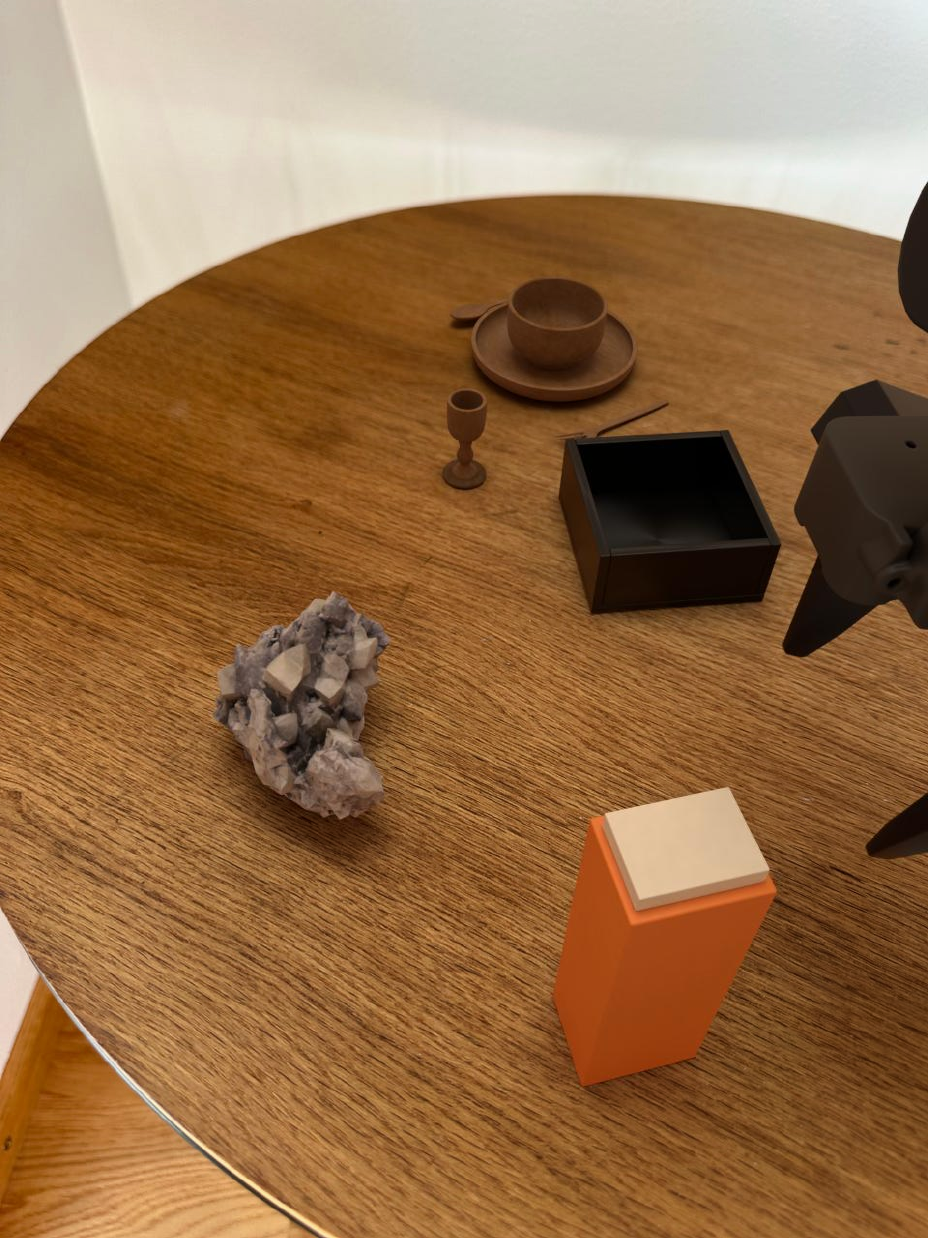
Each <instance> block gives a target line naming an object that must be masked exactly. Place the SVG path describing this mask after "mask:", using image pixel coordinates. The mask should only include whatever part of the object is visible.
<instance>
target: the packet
mask: <svg viewBox="0 0 928 1238" xmlns="http://www.w3.org/2000/svg"><path fill="white" fill-rule="evenodd" d="M588 821H589V822H588V825H587V831H586V836H585V841H584V845H583V849H582V853H581V859H580V863H579V869H578V873H577V878H576V882H575V887H574V892H573V897H572V900H571V905H570V906H571V907H570V910H569V916H568V921H567V925H566V930H565V935H564V939H563V944H562V948H561V953H560V957H559V962H558V967H557V972H556V977H555V983H554V986H553V990H552V999H553V1002H554V1005H555V1008H556V1011H557V1015H558V1018H559V1021H560V1024H561V1027H562V1030H563V1033H564V1036H565V1039H566V1043H567V1045H568V1050H569V1052H570V1055H571V1058H572V1061H573V1065H574V1067H575V1070H576V1074H577V1076H578V1080H579V1083H580V1085H581V1087H587V1086H592V1085H595V1084H599V1083H603V1082H606V1081H611V1080H613V1079H619V1078H621V1077H626V1076H629V1075H633V1074H638V1073H640V1072H645V1071H648V1070H652V1069H656V1068H660V1067H663V1066H667V1065H671V1064H674V1063H679V1062H682V1061H683V1062H684V1061H687V1060H690V1059H694V1058H696V1055H697V1054H698V1052H699V1050H700V1047H701V1046H702V1044H703V1042H704V1040H705V1038H706V1036H707V1034H708V1031H709V1030H710V1028H711V1026H712V1024H713V1022H714V1019H715V1017H716V1015H717V1013H718V1011H719V1010H720V1007H721V1006H722V1003H723V1001H724V999H725V997H726V995H727V993H728V991H729V989H730V987H731V985H732V983H733V981H734V979H735V977H736V975H737V973H738V971H739V969H740V968H741V965H742V964H743V961H744V959H745V957H746V956H747V954H748V951H749V949H750V947H751V945H752V943H753V941H754V939H755V937H756V934H757V933H758V931H759V930H760V927H761V926H762V923H763V921H764V919H765V917H766V915H767V913H768V911H769V909H770V907H771V905H772V903H773V901H774V899H775V896H776V895H777V892H778V890H777V888H776V885H775V883H774V882H773V880H772V877H771V876H770V873H769V872H770V870H771V869H770V866H769V864H768V863H767V862H766V859H765V856H764V855H763V852H762V850H761V849H760V847H759V845H758V843H757V841H756V839H755V837H754V835H753V833H752V831H751V829H750V826H749V825H748V823H747V821H746V819H745V817H744V814H743V813H742V811H741V809H740V807H739V805H738V803H737V801H736V799H735V797H734V795H733V793H732V791H731V789H730V787H728V786H726V787H722V788H717V789H712V790H708V791H707V790H706V791H703V792H699V793H694V794H688V795H685V796H679V797H675V798H671V799H666V800H665V799H664V800H661V801H656V802H651V803H647V804H642V805H637V806H632V807H628V808H624V809H623V808H622V809H618V810H614V811H609V812H605V813H604V814H603V815H601V816H600V815H599V816H596V817H591V818H590V819H589V820H588Z"/></svg>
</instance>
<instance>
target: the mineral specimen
mask: <svg viewBox="0 0 928 1238" xmlns="http://www.w3.org/2000/svg"><path fill="white" fill-rule="evenodd" d="M391 642H392V639H391V637H390V635H388V633H387V632H386V631H385V629H384V627H383V626H382V624H380V623H379V622H377V621H376V620H374V619H371V618H369V617H368V616H366V615H364V614H363V613H358V612H357V611H356V610H355V609H354V608H353V607H352V605H351V604H350V603H349V599H348V598H346V597H344V596H342V595H340V594H338V593H337V592H335V591H334V590H332V591H331V593H330V595H329V596H327V598H326V599H322V598H315V599H313V600H312V602H310V604H309V605H308V606H307V607H306V608H305V609H304V610H302V611H301V613H300V615H299V616H297V618H296V619H294V620H293V621H292V622H291V623H290V624H289V625H288V626H284V625H282V624H276V625H275V624H274V625H271V626H270V627H269V628H267V630H264V631H262V632H261V633H260V635H259V638H258V639H257V642H255V643H254V644H252V645H251V646H250V647H248V648H246V647H245V646H243V645H242V644H240V643H237V645H236V646H235V648H234V650H233V651H234V652H233V663H230V664H227V665H225V666H224V667H222V668H220V669H219V670H217V671H216V676H217V685H218V689H219V691H220V693H219V695H218V696H217V697H215V703H214V706H215V707H216V709H214V710H213V711H212V712H211V713H210V716H212V717H213V718H214V719H215V720H216V722H218V723H220V724H221V725H223V726H224V727H225V728H227V730H228V731H230V732H232V733H233V735H234V736H235V737H234V739H235V740H236V741H237V742H238V743H239V744H241V745H242V748H243V751H244V752H243V753H244V755H245V759H246V760H247V761H250V762H252V763H253V767H254V770H255V773H256V775H257V776H258V779H259V780H260V782H261V783H262V785H264V786H269V788H270V789H271V790H273V792H275V793H277V794H279V795H281V796H283V795H284V796H285V797H287V798H288V799H289V800H290V801H292V802H294V803H296V804H297V805H299V806H300V807H301V808H302V809H304V810H306V811H310V812H316V813H319V815H320V816H321V817H322V818H323V819H324V818H326V817H329V816H332V815H336V817H337V818H338V820H342V819H344V818H347V817H349V816H350V817H353V818H358V817H359V816H361V815H363V813H365V812H367V811H368V810H371V809H373V808H376V807H377V806H380V804H381V802H382V801H383V800H384V797H386V791H384V788H383V779H384V776H383V775H382V773H381V771H379V770H378V768H377V767H376V766H375V764H374V763H373V762H372V760H371V759H370V758H368V757H367V756H365V755H364V749H363V747H362V745H361V743H360V742H359V739H360V735H361V733H362V732H363V731H364V729H365V708H366V704H367V702H368V701H369V700H368V696H369V695H368V692H369V691H371V690H373V689H374V688H378V687H379V684H380V680H379V677H378V676H377V673H378V672H379V671H380V668H379V663H378V659H379V657H380V656H381V655H382V654H383V653H384V652H385V650H386V649H387V648H388V646H389V645H390V643H391Z"/></svg>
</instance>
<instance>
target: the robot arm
mask: <svg viewBox="0 0 928 1238" xmlns="http://www.w3.org/2000/svg"><path fill="white" fill-rule="evenodd" d="M903 233H904V234H903V237H902V240H901V243H900V249H899V255H898V256H899V257H898V263H897V285H898V294H899V297H900V300H901V304H902V306H903V309H904V312H905V314H906V315H907V317H908V319H909V320H910V321H911V322H912V324H913V325H915V326H916V327H917V328H919V329H920V330H922V331H923V332H925V333H927V334H928V181H927V182H926V183H925V185H924V186H923V188H922V190H921V192H920V194H919V196H918V198H917V199H916V202H915V205H914V206H913V209H912V211H911V213H910V215H909V218H908V221H907V223H906V226H905V230H904V232H903ZM809 431H810V433H811V435H812V436H813V438H814V441H815V442H816V444H817V448H816V450H815V453H814V456H813V458H812V461H811V463H810V464H809V465H810V466H809V468H808V470H807V473H806V475H805V478H804V480H803V482H802V485H801V487H800V491H799V493H798V495H797V498H796V501H795V503H794V507H793V511H794V512H793V513H794V517H795V518H796V521H797V523H798V524H799V526H800V527H804V528H805V531H806V533H807V535H808V538H809V539H810V541H811V543H812V546H813V547H814V549H815V551H816V553H817V556H816V558H815V561H814V563H813V566H812V568H811V572H810V574H809V576H808V578H807V581H806V582H805V583H806V584H805V586H804V588H803V591H802V594H801V596H800V598H799V601H798V603H797V606H796V608H795V611H794V613H793V616H792V618H791V620H790V623H789V626H788V628H787V631H786V633H785V636H784V637H783V640H782V643H781V648H782V650H783V652H784V654H785V655H788V656H792V657H796V658H805V657H808V656H809V655H811V654H813V653H814V652H816V651H818V650H820V649H821V648H822V647H825V646H826V645H827V644H829V643H830V642H832V641H834V640H836V639H837V638H838V637H839V636H841V635H842V634H843V633H845V632H846V631H847V630H849V629H850V628H851V627H853V626H854V625H856V623H858V622H859V621H860V620H861V619H863V618H864V617H866V615H868V614H870V612H872V611H873V610H874V609H876V608H877V607H878V606H884V605H886V604H888V603H891V602H892V601H896V600H897V601H899V602H900V603H901V604H902V606H903V607H904V608H905V610H906V612H907V614H908V616H909V617H910V619H911V620H912V623H913V624H914V626H916V627H917V628H918V629H920V630H927V631H928V397H925V396H923V395H920V394H917V393H914V392H912V391H909V390H906V389H903V388H901V387H898V386H896V385H893V384H890V383H887V382H886V381H885V382H884V381H882V380H879V379H876V378H875V379H873V380H871V381H868V382H865V383H862V384H858V385H857V386H854V387H851V388H848V389H845V390H842V391H840V392H839V394H838V395H837V396H836V398H835V399H834V400H833V401H832V402H831V403H830V405H829V406H828V407H827V409H826V410H824V412H823V413H822V415H821V416H820V417H819V418H818V419H817V421H816V422H815V423H814V425H812V427H811V428H810V429H809ZM864 848H865V851H866V853H867V855H868V857H870V858H874V859H881V860H895V859H901V858H907V857H911V856H912V857H913V856H917V855H922V854H927V853H928V791H927V792H926V793H924V794H923V795H922V796H920V797H919V798H918V799H916V800H915V801H914V802H913V803H911V804H910V805H909V806H908V807H906V808H905V809H903V810H902V811H900V812H899V813H898V814H897V815H895V816H894V817H893V818H891V819H890V820H889V821H887V822H886V823H885V824H884V825H883V826H882V827H881V828H880V829H879V830H878V831H877V832H876V833H875V835H873V836H872V837H871V839H870V840H868V842H867V843H866V844H865V846H864Z"/></svg>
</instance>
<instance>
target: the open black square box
mask: <svg viewBox="0 0 928 1238" xmlns="http://www.w3.org/2000/svg"><path fill="white" fill-rule="evenodd" d="M564 442H565V443H564V448H563V455H562V456H563V457H562V465H561V473H560V480H559V488H558V489H559V490H558V499H559V503H560V507H561V510H562V511H561V512H562V514H563V518H564V521H565V525H566V528H567V533H568V536H569V540H570V543H571V546H572V550H573V554H574V558H575V561H576V565H577V569H578V573H579V576H580V579H581V583H582V587H583V591H584V594H585V598H586V601H587V605H588V609H589V612H590V614H593V615H594V614H604V613H606V614H607V613H618V612H619V613H620V612H632V611H645V610H646V611H647V610H648V611H649V610H658V609H659V610H660V609H673V608H687V607H697V606H698V607H702V606H712V605H713V606H715V605H726V604H728V605H729V604H740V603H741V604H742V603H755V602H762V601H764V597H765V595H766V591H767V588H768V586H769V582H770V580H771V578H772V575H773V572H774V568H775V565H776V563H777V559H778V556H779V553H780V550H781V547H782V541H781V539H780V538H779V535H778V533H777V530H776V529H775V527H774V525H773V522H772V520H771V517H770V515H769V513H768V511H767V510H766V507H765V505H764V503H763V501H762V499H761V496H760V494H759V492H758V490H757V488H756V486H755V483H754V482H753V479H752V477H751V475H750V473H749V471H748V469H747V467H746V464H745V462H744V460H743V458H742V455H741V454H740V451H739V449H738V447H737V445H736V442H735V440H734V439H733V436H732V435H731V432H730V430H729V429H720V430H718V429H717V430H703V431H702V430H701V431H700V430H699V431H685V432H667V433H650V434H649V433H648V434H632V435H631V434H630V435H616V436H615V435H613V436H596V437H594V438H586V437H580V438H574V439H566V440H564Z"/></svg>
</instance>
